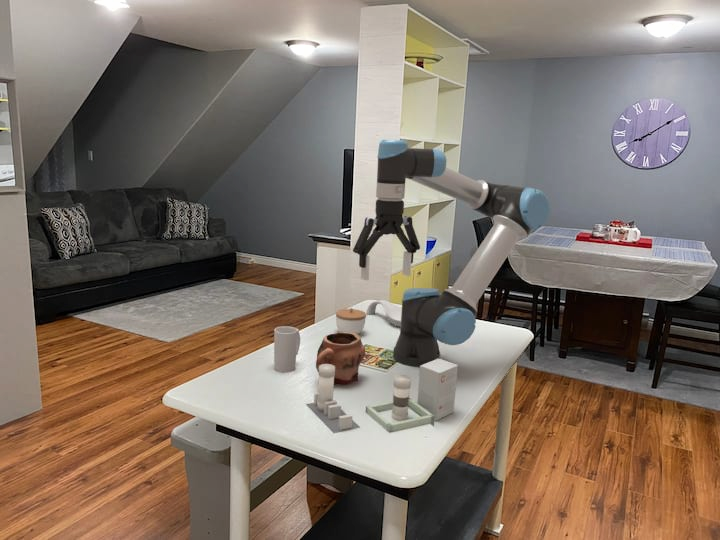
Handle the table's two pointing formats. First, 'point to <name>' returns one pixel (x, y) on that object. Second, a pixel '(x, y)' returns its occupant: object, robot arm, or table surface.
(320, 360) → the decorative planter
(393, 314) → the grey curved piece
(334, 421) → the holder
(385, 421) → the parts tray
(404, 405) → the light bulb
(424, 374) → the small box
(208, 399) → the table surface
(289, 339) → the mug
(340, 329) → the lidded jar
